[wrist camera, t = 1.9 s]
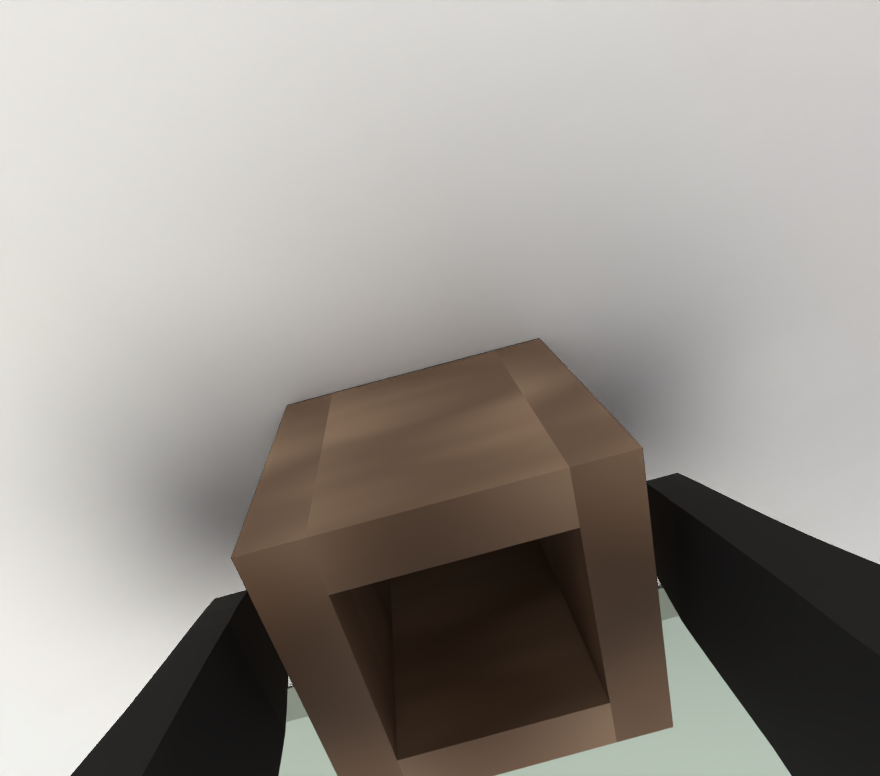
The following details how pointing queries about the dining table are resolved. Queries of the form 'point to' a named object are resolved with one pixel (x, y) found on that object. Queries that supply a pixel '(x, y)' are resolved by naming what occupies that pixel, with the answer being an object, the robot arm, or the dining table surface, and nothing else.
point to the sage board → (630, 761)
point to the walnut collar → (460, 569)
